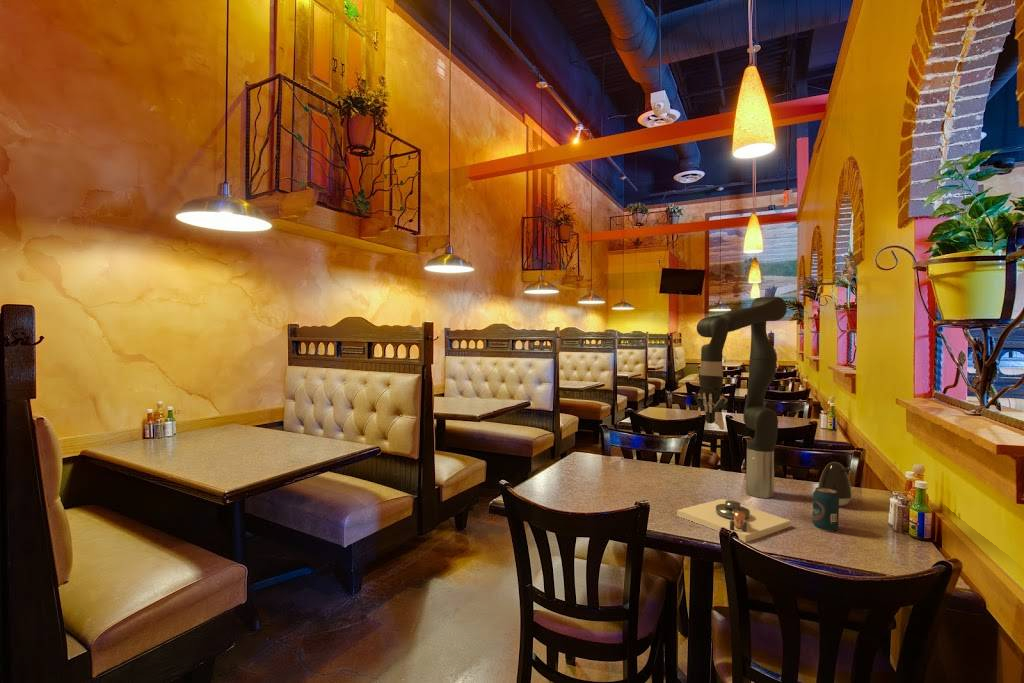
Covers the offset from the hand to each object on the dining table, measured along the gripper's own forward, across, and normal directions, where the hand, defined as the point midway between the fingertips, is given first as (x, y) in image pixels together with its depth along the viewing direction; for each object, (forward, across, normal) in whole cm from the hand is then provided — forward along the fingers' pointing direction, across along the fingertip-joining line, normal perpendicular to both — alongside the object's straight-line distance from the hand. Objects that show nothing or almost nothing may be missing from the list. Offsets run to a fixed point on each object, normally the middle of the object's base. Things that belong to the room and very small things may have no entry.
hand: (710, 423), depth 174 cm
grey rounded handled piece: (+26, +17, -10) cm, 33 cm away
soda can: (+29, +32, +14) cm, 46 cm away
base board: (+29, +14, -7) cm, 33 cm away
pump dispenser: (+29, +22, +42) cm, 56 cm away
